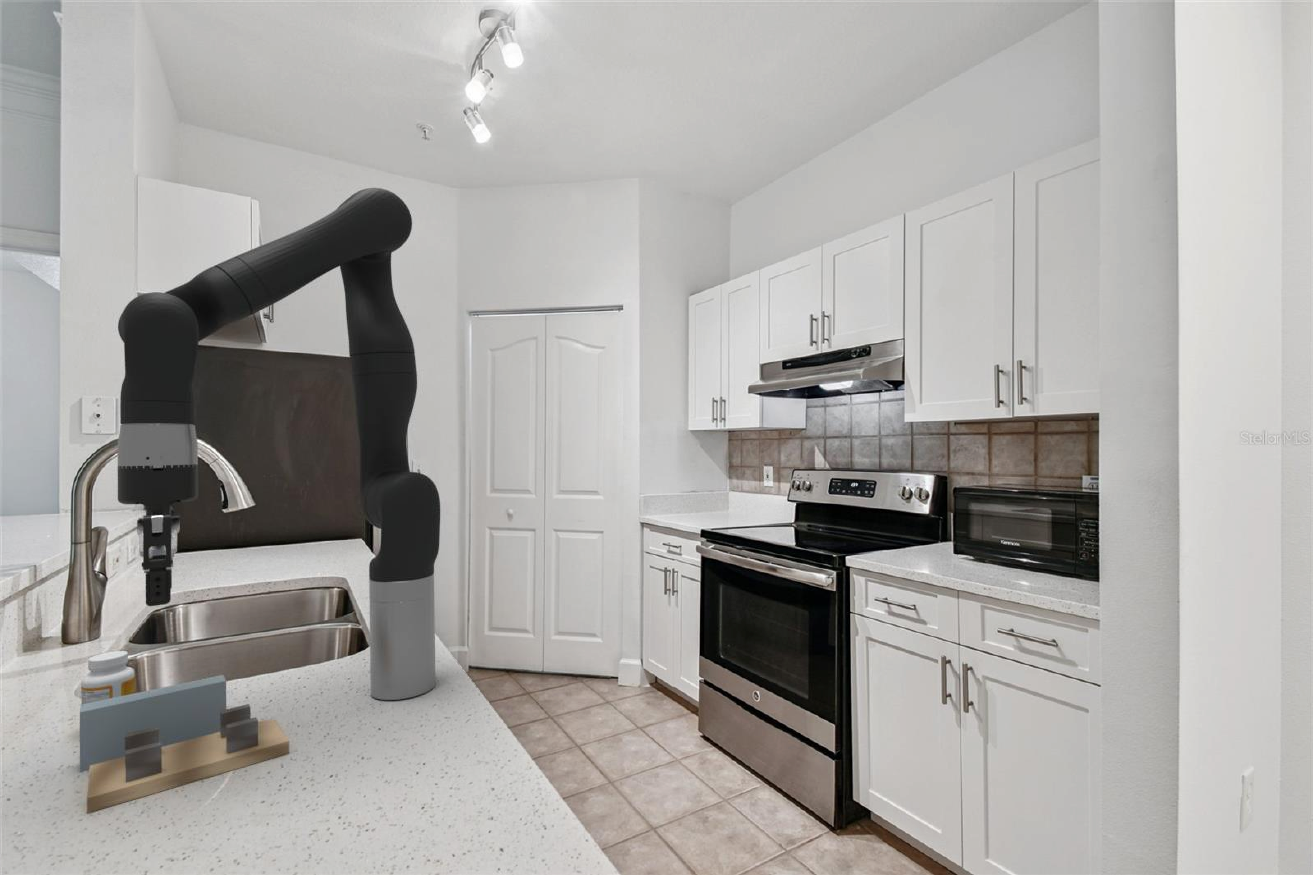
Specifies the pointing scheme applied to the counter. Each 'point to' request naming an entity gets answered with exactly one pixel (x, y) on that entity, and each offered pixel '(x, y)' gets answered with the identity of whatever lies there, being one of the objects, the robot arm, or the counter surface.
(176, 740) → the blue grey rectangular block
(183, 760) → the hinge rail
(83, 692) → the supplement bottle
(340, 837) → the counter surface
